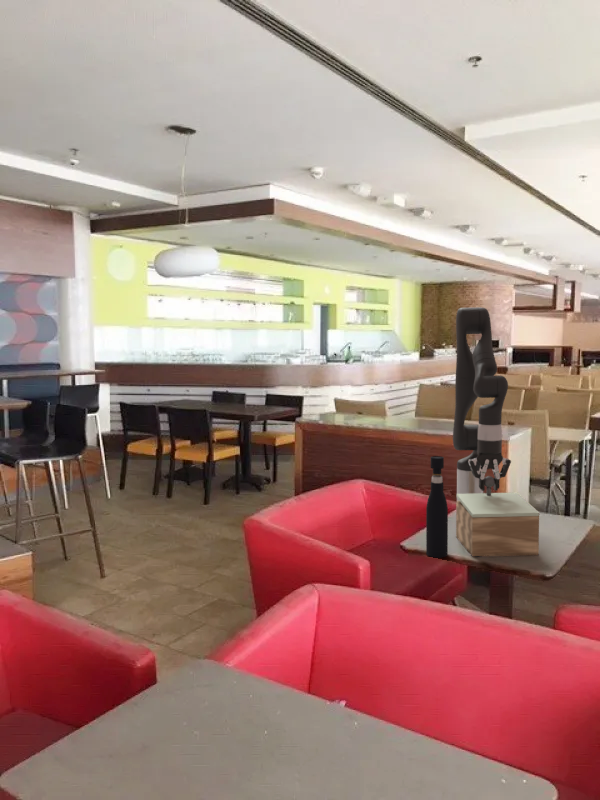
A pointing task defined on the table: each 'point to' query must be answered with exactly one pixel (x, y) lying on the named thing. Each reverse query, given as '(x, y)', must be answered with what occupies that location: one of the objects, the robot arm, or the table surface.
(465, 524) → the crate
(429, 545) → the wine bottle
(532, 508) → the lid
